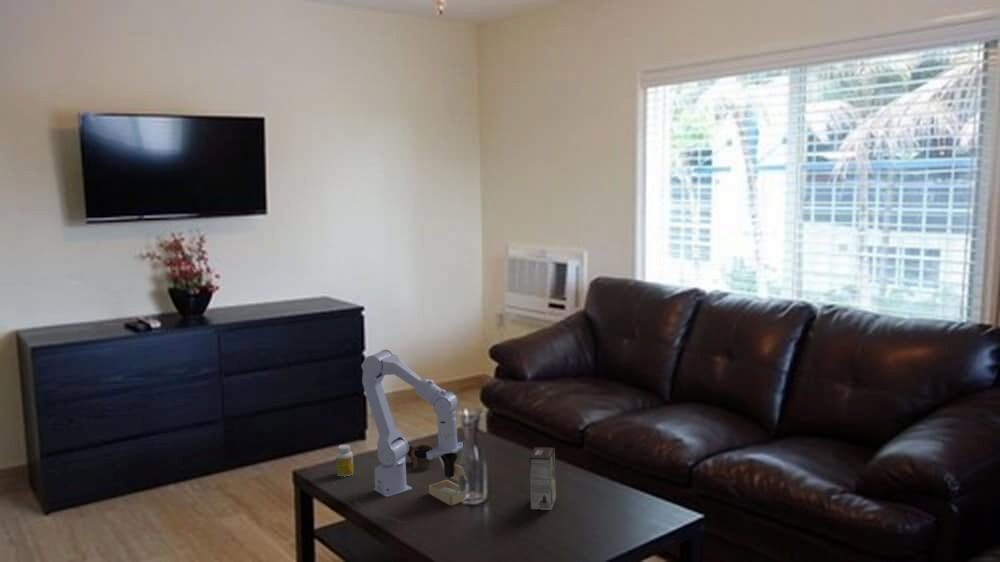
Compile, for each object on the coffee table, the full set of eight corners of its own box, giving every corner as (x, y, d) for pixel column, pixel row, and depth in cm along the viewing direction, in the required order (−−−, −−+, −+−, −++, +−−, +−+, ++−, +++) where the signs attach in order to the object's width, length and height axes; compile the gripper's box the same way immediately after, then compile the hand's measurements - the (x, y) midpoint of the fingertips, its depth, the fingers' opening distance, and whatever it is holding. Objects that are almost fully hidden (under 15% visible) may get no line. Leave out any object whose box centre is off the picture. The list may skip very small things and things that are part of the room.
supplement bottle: (335, 477, 260) (334, 449, 259) (339, 471, 265) (337, 443, 264) (351, 477, 260) (350, 449, 259) (355, 471, 265) (353, 443, 264)
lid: (462, 467, 236) (463, 467, 236) (438, 456, 246) (439, 456, 246) (468, 486, 238) (469, 485, 239) (445, 474, 248) (446, 474, 248)
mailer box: (450, 506, 235) (450, 497, 235) (428, 494, 245) (428, 485, 244) (469, 500, 239) (469, 491, 239) (447, 488, 249) (447, 479, 248)
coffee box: (535, 496, 241) (534, 446, 239) (556, 498, 240) (555, 447, 237) (530, 509, 232) (529, 457, 230) (552, 510, 231) (551, 458, 228)
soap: (450, 500, 239) (449, 494, 239) (438, 496, 242) (438, 489, 242) (457, 497, 241) (456, 490, 241) (445, 493, 244) (445, 486, 244)
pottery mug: (441, 462, 274) (440, 446, 268) (427, 482, 267) (426, 466, 262) (412, 449, 278) (410, 434, 273) (397, 469, 271) (395, 453, 266)
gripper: (434, 441, 232) (436, 486, 233) (474, 430, 240) (476, 473, 242) (421, 436, 237) (424, 479, 239) (461, 425, 246) (463, 467, 248)
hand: (449, 476), depth 241 cm, fingers closed, pressing on lid
